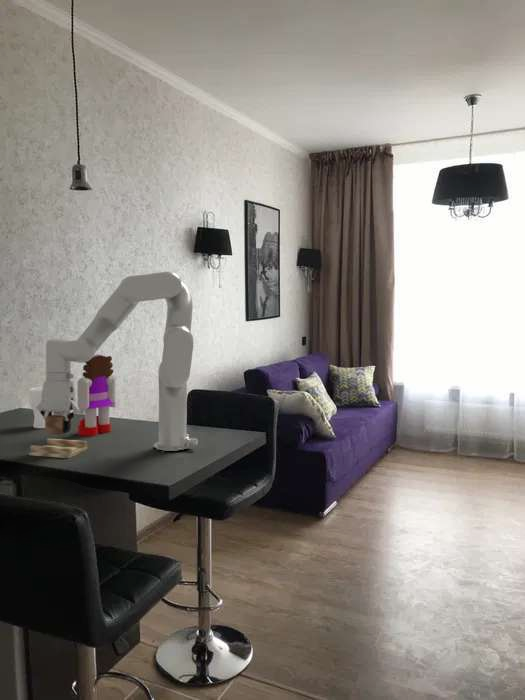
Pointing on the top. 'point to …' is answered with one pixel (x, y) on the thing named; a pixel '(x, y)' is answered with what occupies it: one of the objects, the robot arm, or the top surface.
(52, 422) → the walnut block
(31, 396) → the cup
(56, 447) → the board
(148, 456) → the top surface
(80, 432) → the toy
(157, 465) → the top surface
